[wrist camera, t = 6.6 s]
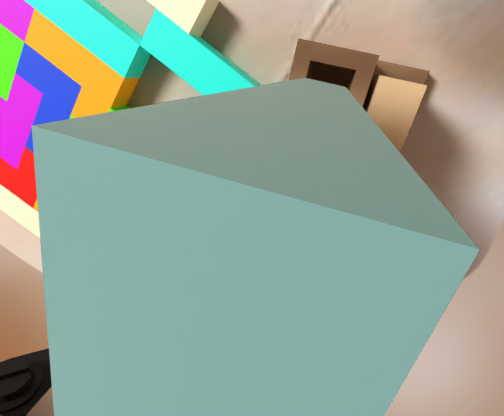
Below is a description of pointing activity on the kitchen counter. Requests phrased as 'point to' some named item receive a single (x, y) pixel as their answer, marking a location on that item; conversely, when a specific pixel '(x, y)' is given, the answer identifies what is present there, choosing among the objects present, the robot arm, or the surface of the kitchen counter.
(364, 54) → the rack
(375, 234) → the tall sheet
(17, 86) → the puzzle game
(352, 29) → the kitchen counter surface
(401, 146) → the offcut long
